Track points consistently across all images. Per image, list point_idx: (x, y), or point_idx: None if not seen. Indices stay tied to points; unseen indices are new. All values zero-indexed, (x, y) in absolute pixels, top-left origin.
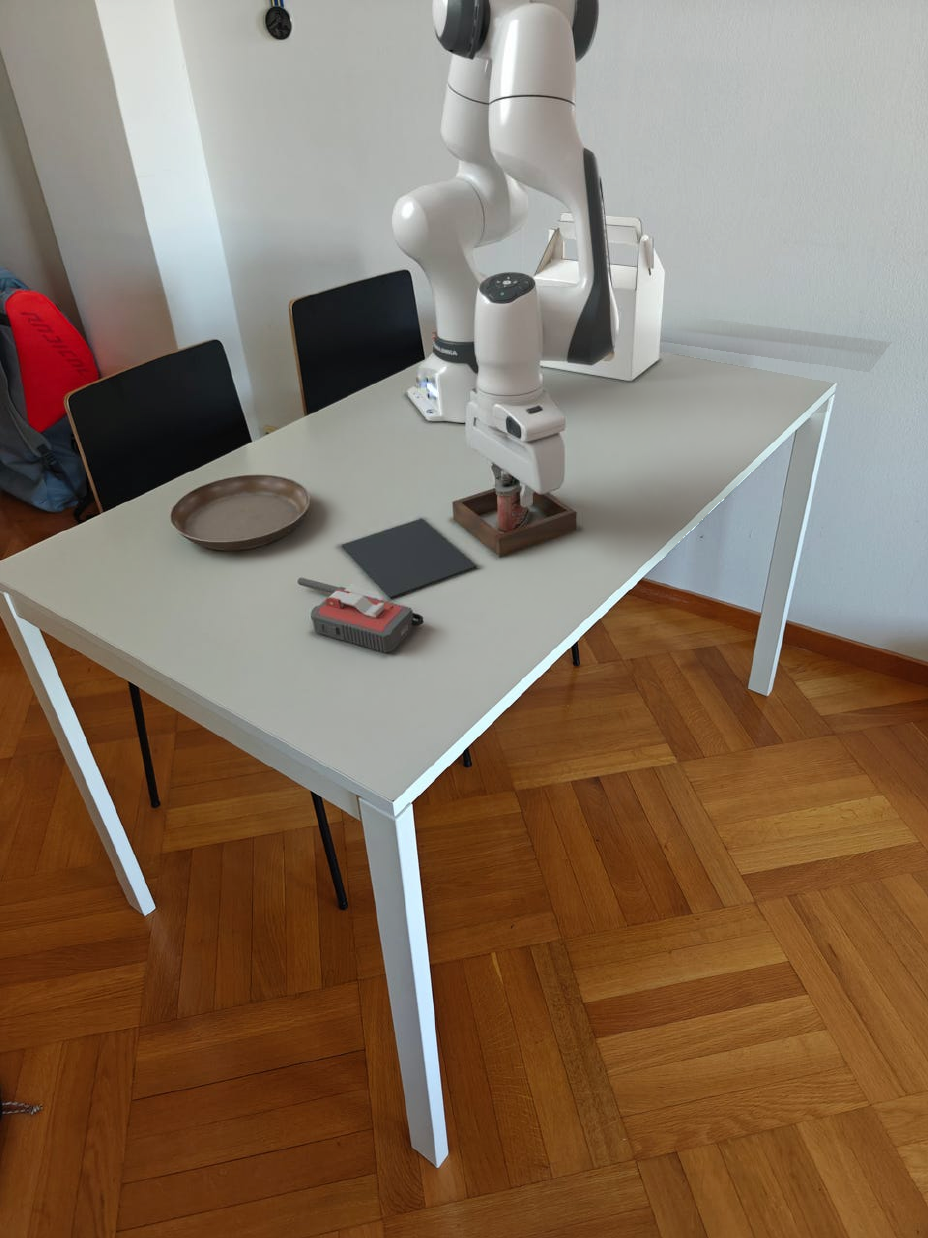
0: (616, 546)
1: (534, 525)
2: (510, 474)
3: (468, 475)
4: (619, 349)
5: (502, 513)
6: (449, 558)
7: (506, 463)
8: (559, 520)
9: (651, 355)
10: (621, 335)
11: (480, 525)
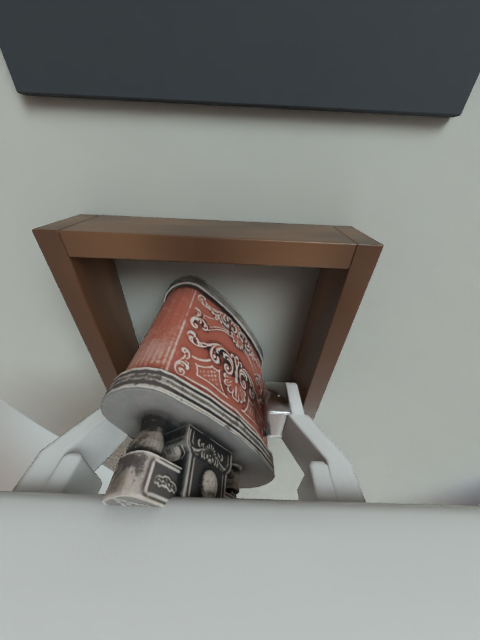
0: (63, 399)
1: (91, 349)
2: (89, 501)
3: (464, 366)
4: None
5: (158, 321)
6: (105, 3)
7: (93, 585)
8: None
9: None
10: None
11: (167, 233)
